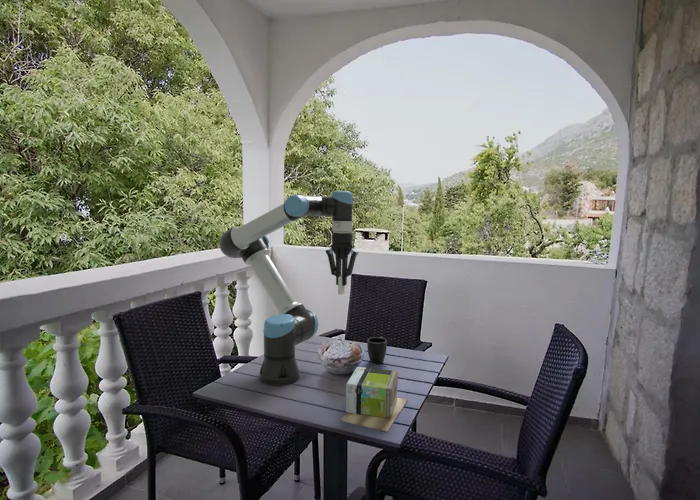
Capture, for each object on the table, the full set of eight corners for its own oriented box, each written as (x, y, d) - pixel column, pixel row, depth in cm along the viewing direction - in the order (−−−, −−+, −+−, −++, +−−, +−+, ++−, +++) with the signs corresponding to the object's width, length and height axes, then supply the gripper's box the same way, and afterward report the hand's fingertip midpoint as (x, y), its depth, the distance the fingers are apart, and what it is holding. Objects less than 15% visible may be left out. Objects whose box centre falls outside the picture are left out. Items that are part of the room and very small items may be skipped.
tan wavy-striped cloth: (340, 420, 128) (340, 419, 128) (366, 392, 148) (366, 391, 148) (387, 431, 122) (387, 430, 122) (407, 400, 142) (407, 399, 142)
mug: (391, 357, 184) (391, 336, 183) (382, 366, 173) (383, 344, 172) (373, 354, 187) (373, 333, 186) (364, 363, 176) (364, 341, 175)
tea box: (345, 413, 132) (391, 419, 128) (345, 383, 131) (391, 388, 127) (356, 393, 147) (398, 398, 143) (356, 365, 146) (398, 370, 142)
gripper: (322, 232, 157) (321, 293, 159) (354, 233, 152) (353, 297, 154) (331, 231, 164) (330, 290, 166) (361, 232, 158) (360, 293, 161)
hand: (341, 293), depth 160 cm, fingers closed
